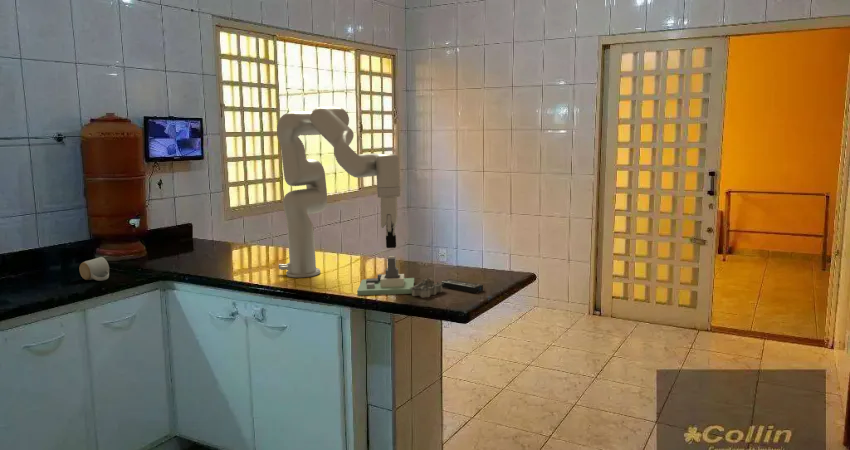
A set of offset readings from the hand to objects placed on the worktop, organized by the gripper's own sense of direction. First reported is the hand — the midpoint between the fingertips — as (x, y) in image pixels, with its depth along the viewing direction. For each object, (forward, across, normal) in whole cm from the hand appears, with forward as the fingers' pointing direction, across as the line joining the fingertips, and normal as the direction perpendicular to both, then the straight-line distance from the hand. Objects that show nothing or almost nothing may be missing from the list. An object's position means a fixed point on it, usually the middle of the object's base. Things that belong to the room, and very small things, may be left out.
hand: (391, 247), depth 206 cm
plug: (+12, 0, 0) cm, 13 cm away
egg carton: (+14, +7, +12) cm, 20 cm away
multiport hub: (+15, +3, +23) cm, 27 cm away
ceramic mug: (+14, -28, -114) cm, 119 cm away
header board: (+14, 0, -2) cm, 14 cm away
